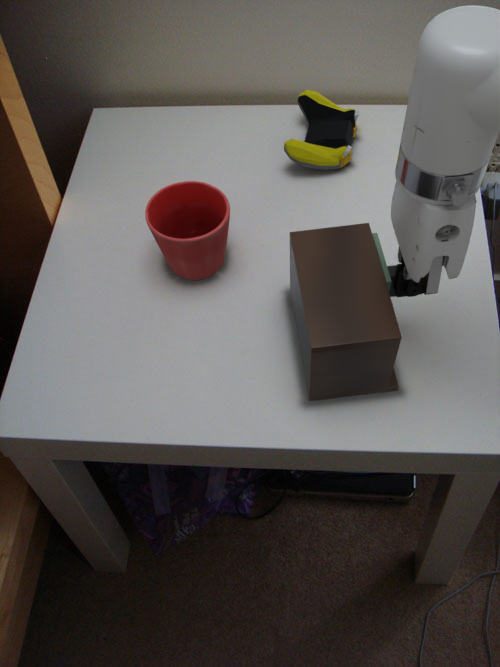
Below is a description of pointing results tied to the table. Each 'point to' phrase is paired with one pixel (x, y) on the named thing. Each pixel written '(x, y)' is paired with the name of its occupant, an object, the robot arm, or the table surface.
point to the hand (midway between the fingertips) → (407, 290)
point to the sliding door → (385, 266)
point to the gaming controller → (323, 133)
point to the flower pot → (190, 227)
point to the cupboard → (342, 313)
